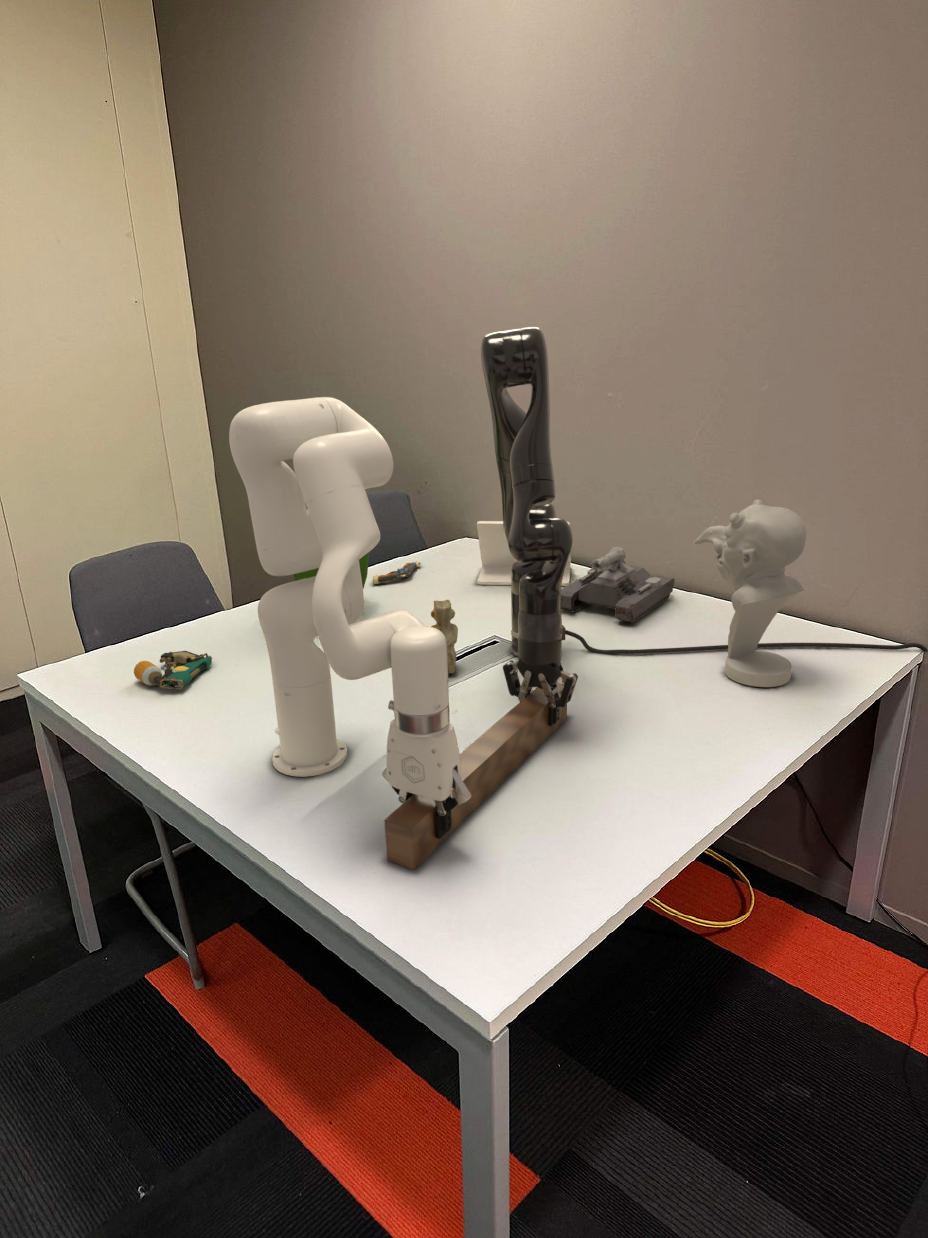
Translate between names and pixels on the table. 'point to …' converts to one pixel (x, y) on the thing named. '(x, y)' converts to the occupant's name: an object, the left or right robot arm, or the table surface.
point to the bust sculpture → (757, 585)
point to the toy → (617, 588)
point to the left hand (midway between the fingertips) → (427, 827)
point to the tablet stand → (500, 555)
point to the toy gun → (396, 573)
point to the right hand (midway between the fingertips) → (539, 720)
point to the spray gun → (172, 669)
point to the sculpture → (446, 629)
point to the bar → (472, 778)
